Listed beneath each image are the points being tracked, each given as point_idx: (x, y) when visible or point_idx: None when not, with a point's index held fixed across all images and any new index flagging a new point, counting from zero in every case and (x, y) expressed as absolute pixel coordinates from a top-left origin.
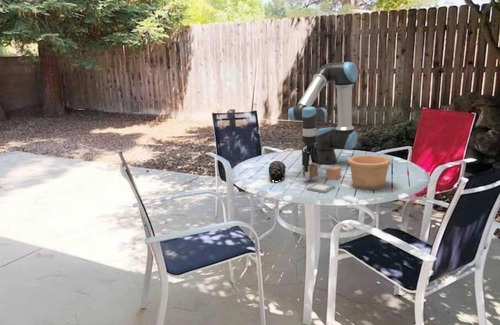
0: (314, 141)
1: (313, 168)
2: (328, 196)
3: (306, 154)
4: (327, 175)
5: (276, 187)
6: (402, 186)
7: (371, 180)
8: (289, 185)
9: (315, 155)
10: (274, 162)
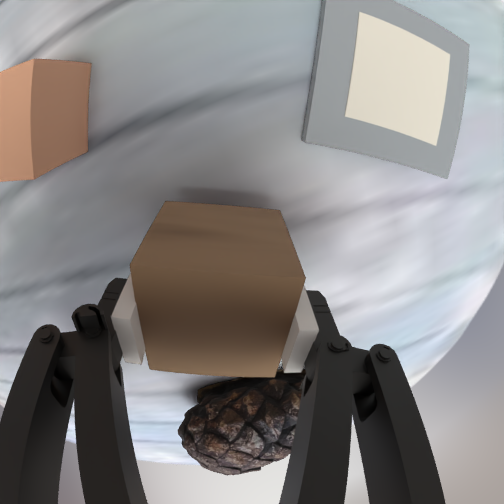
0: None
1: (264, 263)
2: (488, 29)
3: (429, 499)
4: (72, 147)
5: (405, 333)
6: None
7: None
8: (367, 304)
9: (47, 413)
10: (252, 470)
